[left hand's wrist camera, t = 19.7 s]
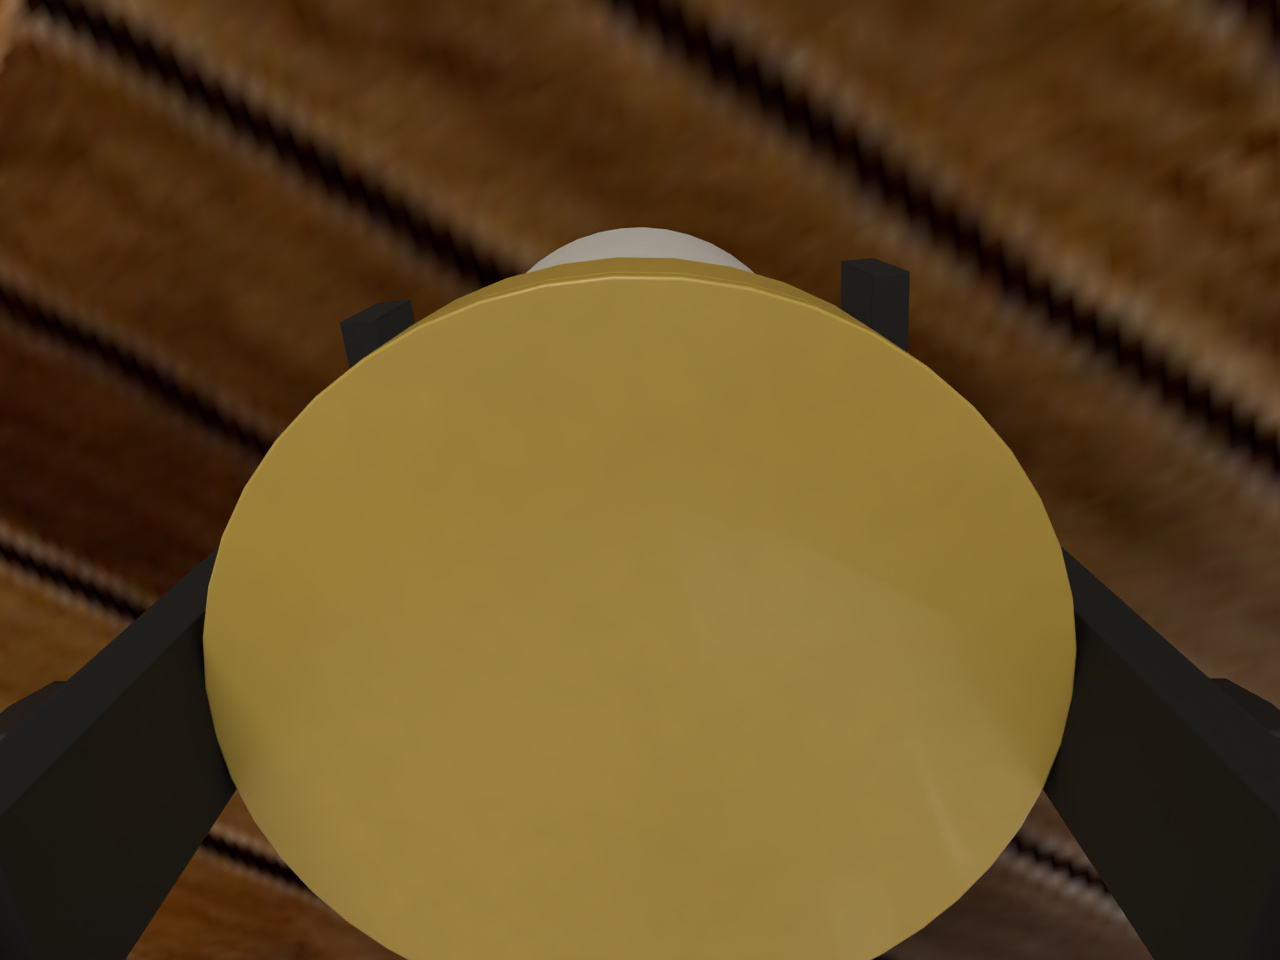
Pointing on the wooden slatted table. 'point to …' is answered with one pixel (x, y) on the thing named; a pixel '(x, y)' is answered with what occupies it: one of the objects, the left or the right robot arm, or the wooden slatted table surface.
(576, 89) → the wooden slatted table surface
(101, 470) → the wooden slatted table surface
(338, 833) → the lid
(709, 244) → the jar
